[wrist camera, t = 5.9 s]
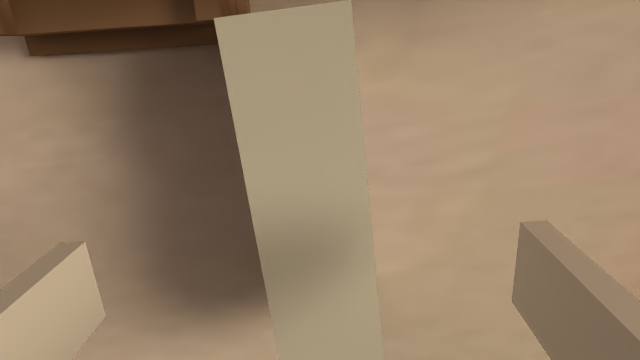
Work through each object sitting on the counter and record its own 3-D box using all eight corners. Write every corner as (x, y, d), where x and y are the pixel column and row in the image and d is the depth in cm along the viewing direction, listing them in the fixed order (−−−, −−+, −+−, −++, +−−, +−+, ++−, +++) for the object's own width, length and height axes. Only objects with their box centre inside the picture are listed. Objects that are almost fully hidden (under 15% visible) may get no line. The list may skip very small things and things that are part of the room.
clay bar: (369, 271, 28) (384, 361, 20) (294, 279, 28) (280, 369, 20) (344, 12, 22) (350, -1, 15) (252, 24, 23) (213, 18, 15)
